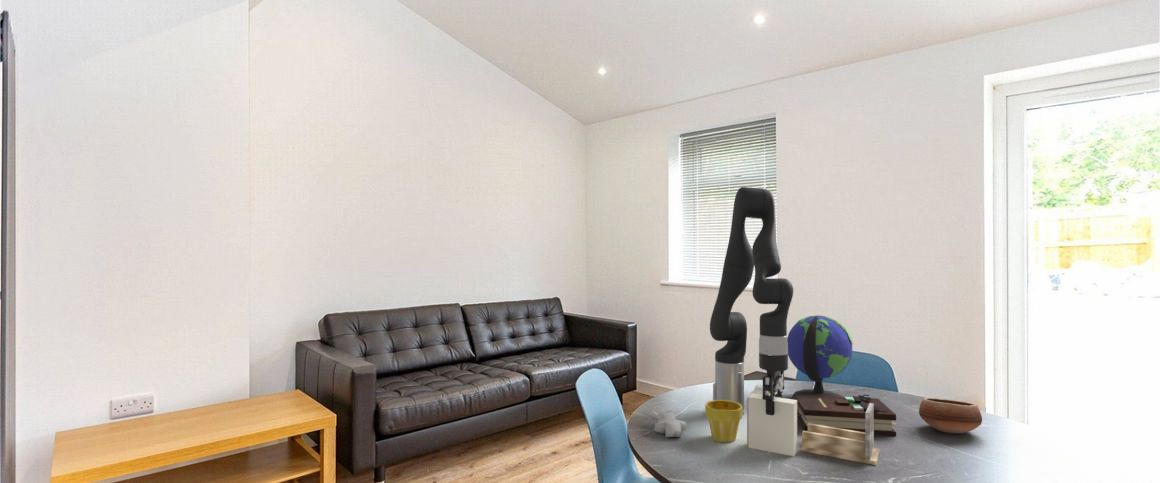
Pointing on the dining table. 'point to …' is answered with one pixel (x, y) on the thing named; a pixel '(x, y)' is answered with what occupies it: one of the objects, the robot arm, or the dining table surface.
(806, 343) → the globe
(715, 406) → the plant pot
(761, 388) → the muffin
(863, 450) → the book rack
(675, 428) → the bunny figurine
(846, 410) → the decorative book
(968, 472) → the dining table surface
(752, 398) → the slim book
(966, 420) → the bowl
